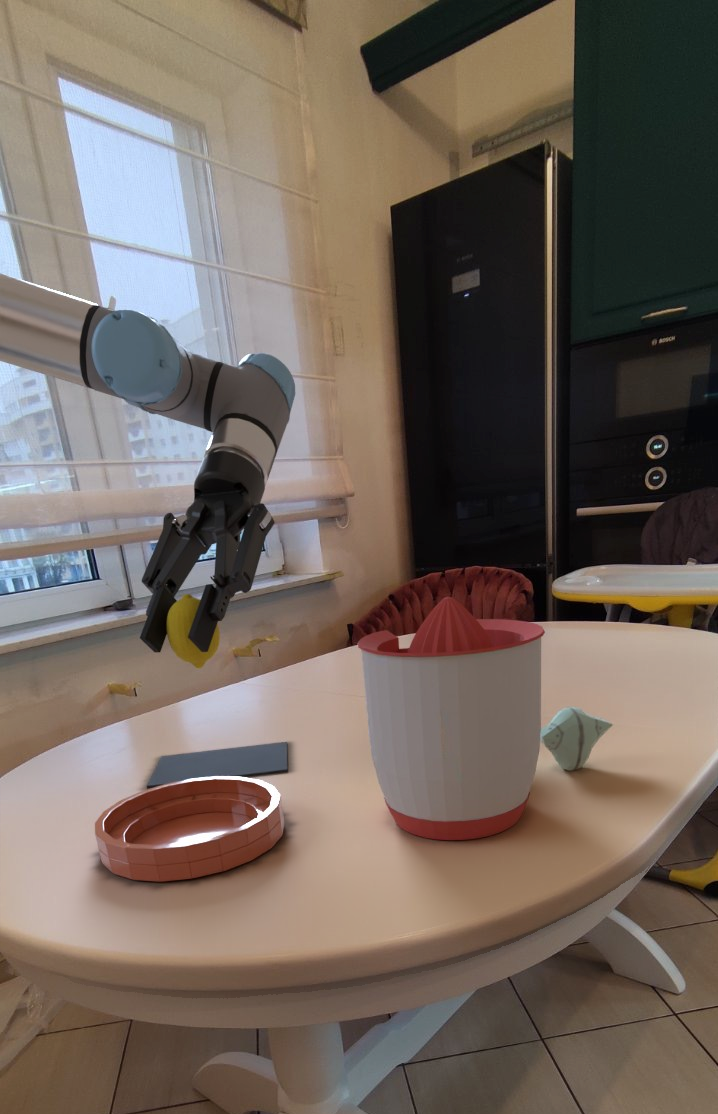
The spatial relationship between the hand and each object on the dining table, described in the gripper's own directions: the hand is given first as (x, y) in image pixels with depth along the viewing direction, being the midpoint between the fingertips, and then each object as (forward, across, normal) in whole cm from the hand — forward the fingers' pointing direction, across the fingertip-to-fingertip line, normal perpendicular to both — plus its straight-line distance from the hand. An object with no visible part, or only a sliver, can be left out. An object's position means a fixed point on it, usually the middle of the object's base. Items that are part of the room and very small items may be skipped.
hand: (173, 644), depth 76 cm
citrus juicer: (+13, -30, -10) cm, 34 cm away
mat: (+7, +1, -16) cm, 17 cm away
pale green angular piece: (+3, -39, -20) cm, 44 cm away
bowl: (+20, -9, -2) cm, 22 cm away
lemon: (0, 0, -5) cm, 5 cm away
